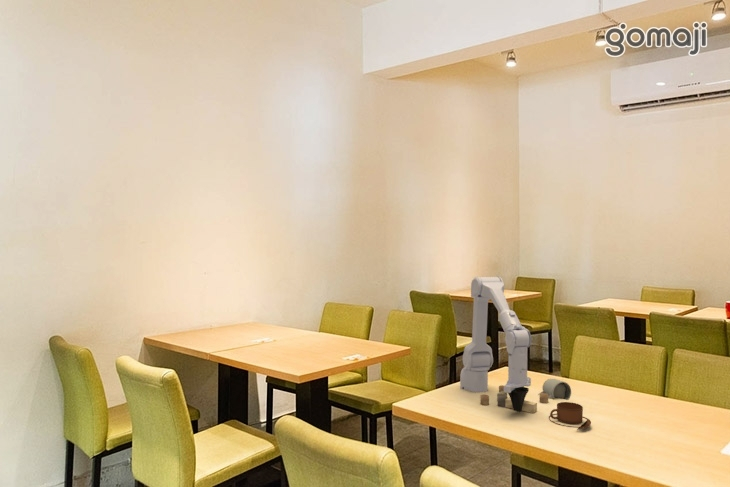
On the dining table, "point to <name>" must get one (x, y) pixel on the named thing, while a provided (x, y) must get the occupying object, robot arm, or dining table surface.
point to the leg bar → (506, 402)
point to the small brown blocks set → (485, 398)
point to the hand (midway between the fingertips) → (517, 410)
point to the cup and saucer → (570, 414)
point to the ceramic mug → (556, 389)
